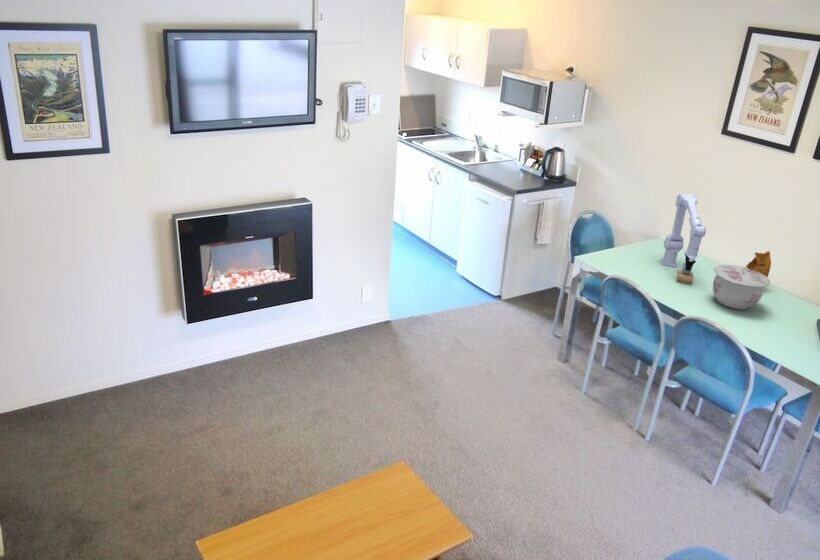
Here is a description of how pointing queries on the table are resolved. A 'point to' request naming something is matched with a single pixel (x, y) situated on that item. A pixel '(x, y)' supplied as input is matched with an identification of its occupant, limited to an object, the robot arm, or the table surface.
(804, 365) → the table surface
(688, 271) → the round block
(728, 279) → the chamber pot
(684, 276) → the oak slab
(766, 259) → the coffee package
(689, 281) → the walnut slab
